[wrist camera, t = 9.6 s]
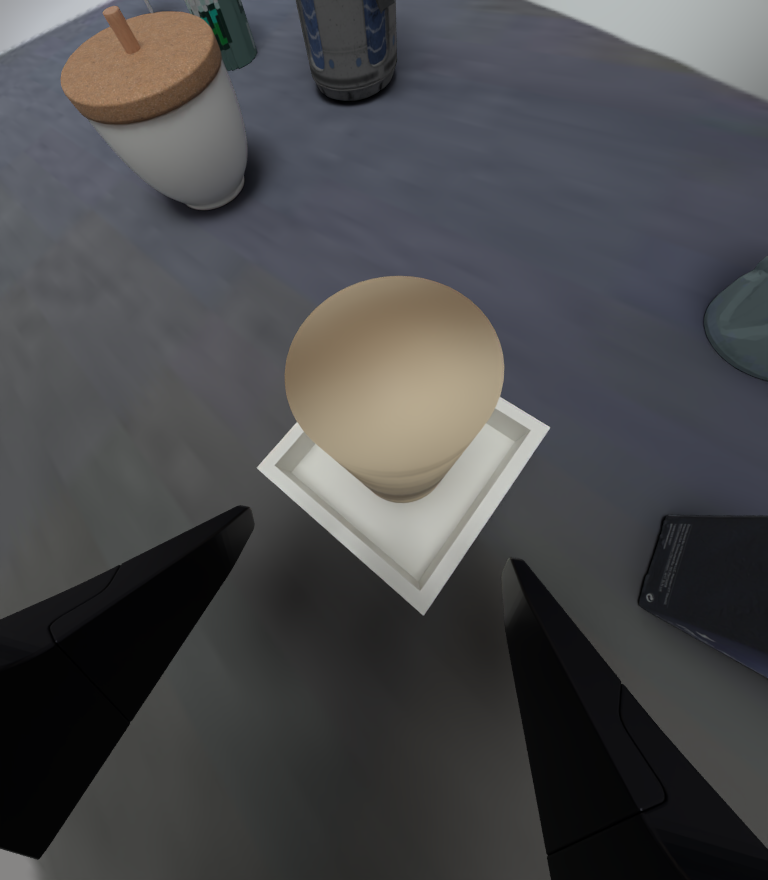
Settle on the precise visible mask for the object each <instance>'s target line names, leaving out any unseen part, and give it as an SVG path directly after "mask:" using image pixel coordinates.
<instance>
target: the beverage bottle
mask: <svg viewBox="0 0 768 880" xmlns="http://www.w3.org/2000/svg"><path fill="white" fill-rule="evenodd" d="M296 4H297V9H298V13H299V18H300V23H301V27H302V32H303V36H304V41H305V46H306V50H307V55H308V60H309V64H310V69H311V74H312V77H313V79H314V81H315V82H316V84H317V86H318V88H319V89H320V91H321V92H322V93H323V94H324V95H325V94H326V96H328V97H330V98H333V99H337V100H343V101H356V100H361V99H365V98H367V97H370V96H372V95H374V94H376V93H377V92H379V90H382V89H383V88H384V87H386V86H387V84H388V83H389V82H390V80H391V79H392V76H393V73H394V69H395V66H396V62H397V39H396V0H296Z"/></svg>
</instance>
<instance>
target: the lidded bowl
mask: <svg viewBox="0 0 768 880" xmlns="http://www.w3.org/2000/svg"><path fill="white" fill-rule="evenodd" d="M103 15H104V16H105V18H106V20H107V21H108V23H109V25H110V27H108V28H106V29H104V30H102V31H101V32H99V33H97V34H96V35H94V36H93V37H91V38H90V39H88V40H87V41H86V42H84V43H83V44H82V45H81V46H80V47H79V48H78V49H77V50H76V51H75V52H74V53H73V54H72V55H71V56H70V57H69V59H68V61H67V62H66V64H65V66H64V68H63V70H62V73H61V86H62V89H63V91H64V93H65V95H66V96H67V97H68V99H69V100H70V101H71V102H72V104H73V105H74V106H75V107H76V108H77V109H78V111H79V112H80V113H81V114H82V115H83V116H84V117H86V118H87V119H88V121H89V122H90V123H91V124H92V126H93V127H94V128H95V130H96V131H97V132H98V133H99V134H100V136H101V137H102V138H103V139H104V140H105V142H106V143H107V144H108V145H109V146H110V148H111V149H112V150H113V151H114V152H115V153H116V154H117V155H118V156H119V157H120V158H121V159H122V161H123V162H124V163H125V164H126V165H127V166H128V167H129V168H130V169H131V170H132V171H133V172H134V173H135V174H136V175H138V176H139V177H140V178H141V179H142V180H143V181H145V182H146V183H147V184H148V185H150V186H151V187H152V188H154V189H155V190H157V191H158V192H160V193H162V194H163V195H165V196H167V197H169V198H172V199H174V200H176V201H179V202H182V203H185V204H186V205H187V206H188V207H190V208H193V209H196V210H211V209H215V208H218V207H221V206H223V205H225V204H227V203H229V202H230V201H232V200H233V199H234V198H235V197H236V196H237V195H238V194H239V193H240V192H241V190H242V188H243V186H244V180H245V179H244V172H245V169H246V163H247V147H248V146H247V138H246V130H245V125H244V121H243V117H242V113H241V109H240V106H239V103H238V100H237V96H236V93H235V91H234V88H233V85H232V83H231V80H230V77H229V75H228V72H227V70H226V67H225V65H224V62H223V60H222V56H221V51H220V48H219V45H218V43H217V40H216V38H215V35H214V33H213V31H212V28H211V27H210V26H209V25H208V24H207V23H206V22H205V21H204V20H203V19H201V18H200V17H198V16H195V15H192V14H188V13H184V12H173V11H172V12H156V13H150V14H144V15H140V16H137V17H133V18H130V19H127V20H125V18H124V16H123V14H122V13H121V11H120V9H119V7H117V6H112V7H109V8H107V9H105V10H104V11H103Z"/></svg>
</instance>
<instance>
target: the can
mask: <svg viewBox="0 0 768 880" xmlns="http://www.w3.org/2000/svg"><path fill="white" fill-rule="evenodd" d="M185 3H186V5H187V7H188V10H189V12H190V14H192V15H195V16H198V17H200V18H201V19H203V20H204V21H205V22H206V23H207V24H208V25H209V26H210V27H211V28H212V31H213V33H214V35H215V38H216V40H217V43H218V45H219V48H220V51H221V56H222V60H223V62H224V65H225V67H226V70H228V71H229V70H235V69H236V68H239V69H240V68H241V67H243V66H245V65H247V64H249V63H250V62H252V59H254V58H255V56H256V53H257V51H256V46H255V43H254V40H253V37H252V34H251V30H250V27H249V24H248V21H247V18H246V15H245V12H244V9H243V6H242V2H241V0H185Z"/></svg>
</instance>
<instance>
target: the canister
mask: <svg viewBox="0 0 768 880" xmlns="http://www.w3.org/2000/svg"><path fill="white" fill-rule="evenodd" d="M503 380H504V361H503V353H502V349H501V345H500V341H499V339H498V337H497V334H496V332H495V330H494V328H493V326H492V325H491V323H490V322H489V320H488V318H487V317H486V316H485V315H484V314H483V312H482V311H481V310H480V309H479V308H478V307H477V306H476V305H475V304H474V303H473V302H472V301H471V300H469V299H468V298H466V297H465V296H464V295H462V294H461V293H459V292H457V291H456V290H454V289H452V288H450V287H448V286H445V285H443V284H440V283H438V282H435V281H431V280H427V279H423V278H417V277H409V276H389V277H381V278H374V279H370V280H366V281H363V282H360V283H357V284H354V285H352V286H349V287H347V288H345V289H343V290H341V291H339V292H337V293H336V294H334V295H333V296H331V297H329V298H328V299H327V300H325V301H324V302H323V303H322V304H320V305H319V306H318V307H317V308H316V309H315V310H314V311H313V312H312V313H311V314H310V315H309V316H308V317H307V319H306V320H305V321H304V323H303V324H302V325H301V327H300V328H299V330H298V332H297V333H296V335H295V337H294V339H293V342H292V344H291V346H290V349H289V353H288V356H287V360H286V367H285V388H286V394H287V399H288V402H289V405H290V408H291V411H292V413H293V415H294V417H295V419H296V421H297V422H298V424H299V425H300V427H301V428H302V430H303V431H304V432H305V433H306V434H307V436H308V437H309V438H310V439H311V440H312V441H313V442H314V443H315V444H316V445H318V446H319V447H320V448H321V449H322V450H324V451H325V452H326V453H327V454H328V455H329V456H331V457H332V458H333V459H334V460H335V461H337V462H338V463H339V464H340V465H341V466H342V467H344V468H345V469H346V470H347V471H348V472H350V473H351V474H352V475H353V476H354V477H355V478H357V479H358V480H359V481H360V482H361V483H363V484H364V485H365V486H366V487H367V488H368V489H370V490H371V491H372V492H373V493H374V494H376V495H377V496H379V497H380V498H382V499H385V500H387V501H390V502H395V503H409V502H413V501H417V500H419V499H422V498H423V497H425V496H427V495H428V494H429V493H431V492H432V491H433V490H434V489H435V488H436V487H437V485H438V484H439V483H440V481H441V480H442V479H443V478H444V476H445V475H446V474H447V473H448V471H449V470H450V469H451V467H452V466H453V465H454V464H455V462H456V461H457V460H458V459H459V457H460V456H461V455H462V453H463V452H464V451H465V450H466V448H467V447H468V446H469V445H470V443H471V442H472V441H473V439H474V438H475V437H476V436H477V434H478V433H479V432H480V431H481V429H482V428H483V427H484V425H485V424H486V423H487V421H488V420H489V418H490V417H491V415H492V413H493V411H494V409H495V407H496V405H497V402H498V400H499V397H500V394H501V390H502V385H503Z"/></svg>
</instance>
